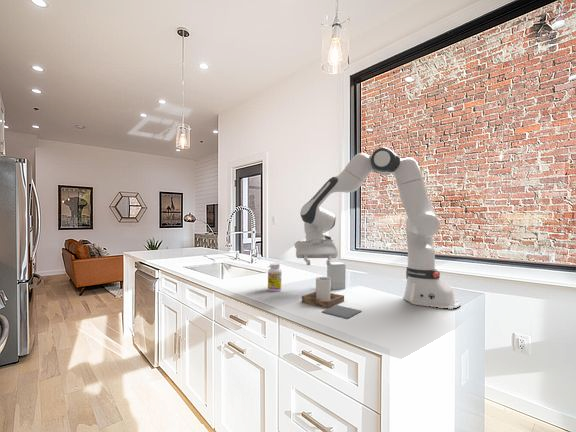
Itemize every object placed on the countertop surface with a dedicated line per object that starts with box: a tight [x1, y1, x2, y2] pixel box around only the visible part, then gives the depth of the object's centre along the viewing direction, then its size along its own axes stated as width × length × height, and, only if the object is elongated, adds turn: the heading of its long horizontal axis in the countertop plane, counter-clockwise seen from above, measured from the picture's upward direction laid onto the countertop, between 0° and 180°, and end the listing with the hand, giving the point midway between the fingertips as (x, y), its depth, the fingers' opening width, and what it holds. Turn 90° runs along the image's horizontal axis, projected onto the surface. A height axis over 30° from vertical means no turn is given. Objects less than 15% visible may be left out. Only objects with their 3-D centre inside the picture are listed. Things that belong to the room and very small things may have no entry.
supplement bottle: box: [267, 262, 282, 292], centre depth 150 cm, size 7×7×13 cm
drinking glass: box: [315, 276, 332, 301], centre depth 130 cm, size 7×7×10 cm
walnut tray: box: [301, 291, 345, 309], centre depth 131 cm, size 13×13×2 cm
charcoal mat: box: [321, 304, 362, 320], centre depth 117 cm, size 11×11×1 cm
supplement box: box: [326, 261, 346, 290], centre depth 156 cm, size 7×7×13 cm
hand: (318, 264), depth 141 cm, fingers open, 8 cm apart
